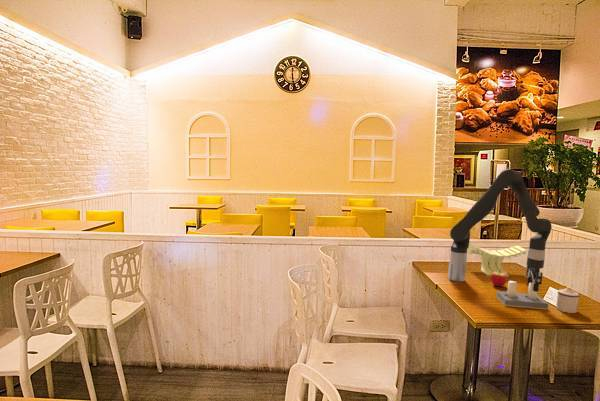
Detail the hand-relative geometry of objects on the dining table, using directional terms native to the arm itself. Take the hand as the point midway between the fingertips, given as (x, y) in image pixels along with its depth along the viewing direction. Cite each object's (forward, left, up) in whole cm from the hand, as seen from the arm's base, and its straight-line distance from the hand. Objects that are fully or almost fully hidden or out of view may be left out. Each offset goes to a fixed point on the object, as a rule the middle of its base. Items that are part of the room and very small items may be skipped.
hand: (532, 288), depth 212 cm
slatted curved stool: (-2, +58, -8) cm, 59 cm away
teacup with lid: (+14, -4, -8) cm, 17 cm away
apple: (-8, +28, -8) cm, 30 cm away
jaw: (-10, 0, -7) cm, 12 cm away
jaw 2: (0, 0, -7) cm, 7 cm away
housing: (-5, 0, -8) cm, 9 cm away
